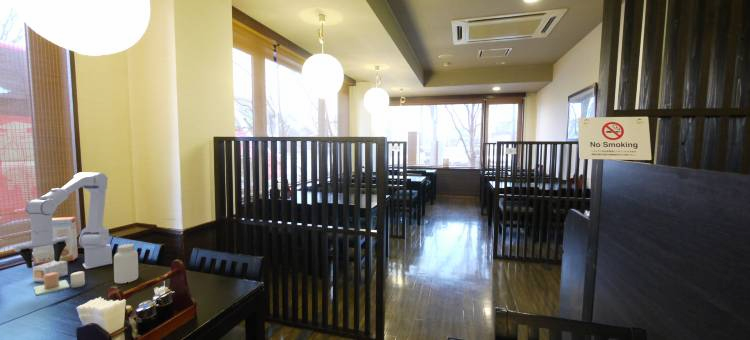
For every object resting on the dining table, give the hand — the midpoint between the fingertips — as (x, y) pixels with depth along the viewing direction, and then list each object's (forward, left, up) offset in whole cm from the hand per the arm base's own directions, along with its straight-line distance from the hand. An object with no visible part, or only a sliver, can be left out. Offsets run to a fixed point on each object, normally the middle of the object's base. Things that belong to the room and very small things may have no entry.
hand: (43, 264), depth 120 cm
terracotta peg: (-2, +1, -9) cm, 10 cm away
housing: (-3, -12, -10) cm, 16 cm away
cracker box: (-7, -36, -10) cm, 38 cm away
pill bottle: (-23, +13, -10) cm, 28 cm away
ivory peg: (-9, +5, -10) cm, 14 cm away
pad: (-2, +1, -10) cm, 10 cm away
